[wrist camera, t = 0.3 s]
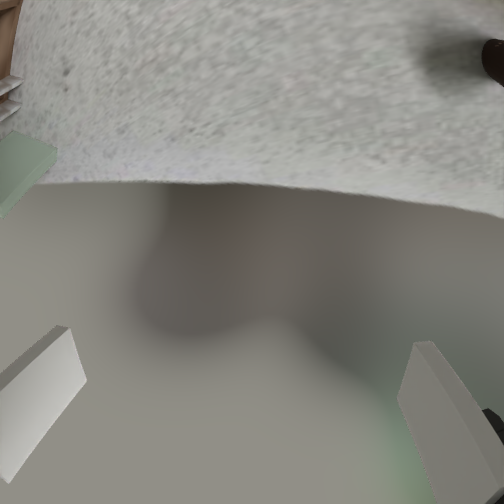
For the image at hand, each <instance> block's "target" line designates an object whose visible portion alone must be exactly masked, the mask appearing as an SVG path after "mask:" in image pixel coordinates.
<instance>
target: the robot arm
mask: <svg viewBox="0 0 504 504" xmlns="http://www.w3.org/2000/svg"><path fill="white" fill-rule="evenodd" d="M86 382H87V380H86V376H85V374H84V371H83V368H82V365H81V362H80V359H79V356H78V353H77V350H76V347H75V343H74V340H73V337H72V333H71V330H70V328H68V327H63V326H56V327H55V328H53V329H52V330H51V331H49V333H47V334H46V335H45V336H43V338H41V339H40V340H39V341H37V342H36V343H35V344H34V345H33V346H32V347H30V348H29V349H28V350H27V351H26V352H24V353H23V354H22V355H21V356H20V357H19V358H18V359H16V360H15V361H14V362H13V363H12V364H11V365H10V366H8V367H7V368H6V369H5V370H4V371H3V372H2V373H1V374H0V478H2V479H3V480H4V481H6V482H7V483H10V482H11V480H12V479H13V477H14V476H15V474H16V473H17V472H18V470H19V469H20V467H21V466H22V465H23V463H24V462H25V461H26V459H27V457H28V456H29V455H30V453H31V452H32V451H33V450H34V448H35V447H36V446H37V444H38V443H39V442H40V440H41V439H42V437H43V436H44V435H45V433H46V432H47V431H48V430H49V428H50V427H51V426H52V424H53V423H54V422H55V421H56V419H57V418H58V417H59V415H60V414H61V413H62V412H63V410H64V409H65V408H66V407H67V405H68V404H69V403H70V401H71V400H72V399H73V398H74V396H75V395H76V394H77V393H78V391H79V390H80V389H81V388H82V386H83V385H84V384H85V383H86ZM397 401H398V403H399V406H400V408H401V411H402V413H403V415H404V418H405V420H406V423H407V425H408V427H409V430H410V432H411V435H412V437H413V440H414V442H415V445H416V447H417V450H418V453H419V455H420V458H421V460H422V463H423V466H424V469H425V471H426V474H427V476H428V479H429V482H430V485H431V488H432V491H433V494H434V497H435V500H436V503H437V504H504V423H503V421H502V420H501V418H500V417H499V416H498V415H497V414H495V413H494V412H493V411H491V410H490V409H485V410H481V409H480V407H479V406H478V404H477V403H476V401H475V400H474V399H473V397H472V396H471V394H470V393H469V391H468V390H467V388H466V387H465V386H464V384H463V383H462V381H461V380H460V378H459V377H458V376H457V374H456V373H455V372H454V370H453V369H452V368H451V366H450V365H449V364H448V362H447V361H446V359H445V358H444V357H443V355H442V354H441V353H440V351H439V350H438V349H437V347H436V346H435V345H434V344H433V342H432V341H424V342H415V343H414V344H413V348H412V352H411V355H410V358H409V362H408V365H407V368H406V372H405V375H404V378H403V381H402V384H401V387H400V390H399V393H398V396H397Z"/></svg>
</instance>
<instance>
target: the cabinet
mask: <svg viewBox="0 0 504 504" xmlns="http://www.w3.org/2000/svg"><path fill="white" fill-rule="evenodd" d="M22 2H23V0H0V122H1V121H2V120H4V119H5V118H6V117H8V116H9V115H11V114H12V113H14V112H15V111H17V110H18V109H20V108H21V104H20V103H17V102H14V101H11V100H8V91H9V90H11V89H13V88H15V87H16V86H18V85H20V84H22V83H23V79H22V78H19V77H15V76H11V75H10V67H11V59H12V52H13V45H14V39H15V34H16V28H17V23H18V19H19V14H20V10H21V6H22Z"/></svg>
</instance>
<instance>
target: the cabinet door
mask: <svg viewBox="0 0 504 504" xmlns="http://www.w3.org/2000/svg"><path fill="white" fill-rule="evenodd" d="M56 159H57V148H56V147H53V146H51V145H48V144H46V143H43V142H41V141H39V140H36V139H34V138H31V137H29V136H26V135H24V134H21V133H18V132H16V131H12V132H11V133H10V134H9V135H7V136H6V137H5V138H4V139H2V140H1V141H0V217H1V218H2V219H4V218H5V216H6V215H7V214H8V213H9V212H10V210H11V209H12V208H13V207H14V206H15V205H16V203H17V202H18V201H19V200H20V199H21V198H22V197H23V195H24V194H25V193H26V192H27V191H28V190H29V189H30V188H31V187H32V186H33V185H34V183H35V182H36V181H37V180H38V179H39V178H40V177H41V176H42V175H43V174H44V173H45V172H46V171H47V170H48V169H49V168H50V167H51V166H52V165H53V164H54V163H55V162H56Z"/></svg>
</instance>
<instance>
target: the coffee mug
mask: <svg viewBox="0 0 504 504" xmlns="http://www.w3.org/2000/svg"><path fill="white" fill-rule="evenodd" d="M482 63H483V66H484V69H485V71H486V72H487V73H488V75H489V76H490V77H491V78H493V79H494V80H495V81H497V82H498V83H499V84H500V85H502V86H503V87H504V40H498V39H492V40H489V41H488V42H487V43H486V44H485V45H484V47H483V50H482Z"/></svg>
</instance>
